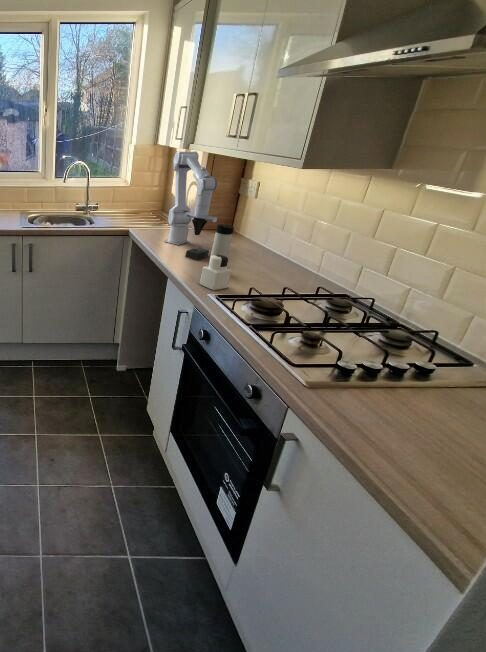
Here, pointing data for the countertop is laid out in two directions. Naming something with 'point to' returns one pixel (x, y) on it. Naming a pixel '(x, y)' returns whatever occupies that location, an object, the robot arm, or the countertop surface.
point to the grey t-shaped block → (203, 250)
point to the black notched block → (195, 254)
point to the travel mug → (222, 240)
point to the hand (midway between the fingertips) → (197, 234)
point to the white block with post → (216, 273)
